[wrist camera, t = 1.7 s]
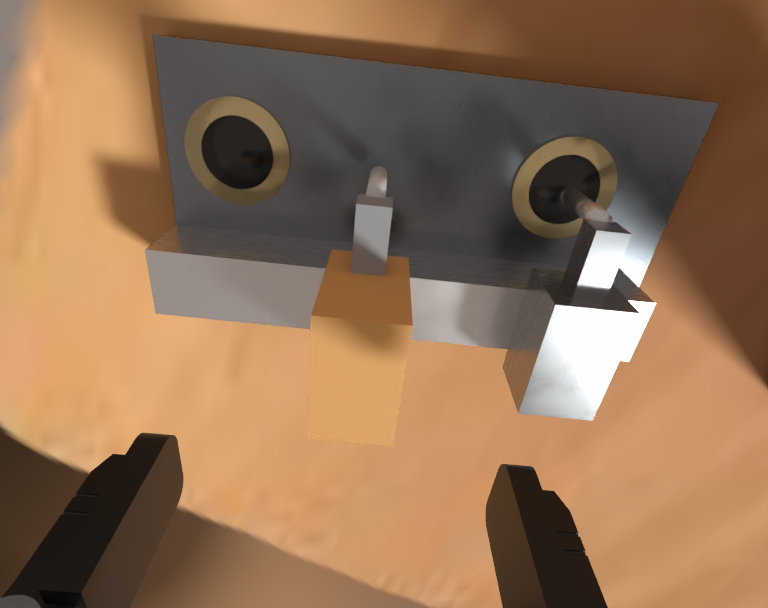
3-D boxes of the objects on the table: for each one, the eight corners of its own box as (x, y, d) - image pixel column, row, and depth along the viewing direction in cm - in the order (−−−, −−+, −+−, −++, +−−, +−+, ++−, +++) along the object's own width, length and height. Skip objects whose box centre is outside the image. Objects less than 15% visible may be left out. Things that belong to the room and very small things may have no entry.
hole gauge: (703, 100, 18) (856, 125, 12) (603, 340, 24) (672, 437, 18) (164, 35, 18) (43, 27, 12) (195, 299, 24) (125, 385, 18)
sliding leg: (416, 170, 18) (427, 234, 12) (393, 331, 22) (393, 446, 16) (342, 161, 18) (313, 222, 12) (332, 325, 22) (307, 438, 16)
